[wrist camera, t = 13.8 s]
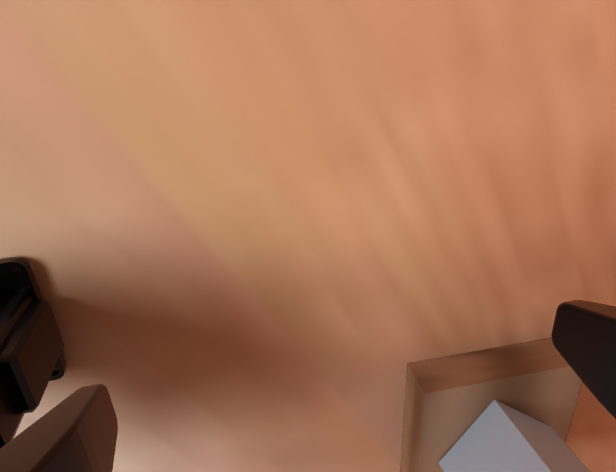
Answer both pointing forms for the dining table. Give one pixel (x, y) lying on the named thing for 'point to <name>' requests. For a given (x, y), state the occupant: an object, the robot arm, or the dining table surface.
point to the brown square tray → (482, 396)
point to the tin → (510, 445)
